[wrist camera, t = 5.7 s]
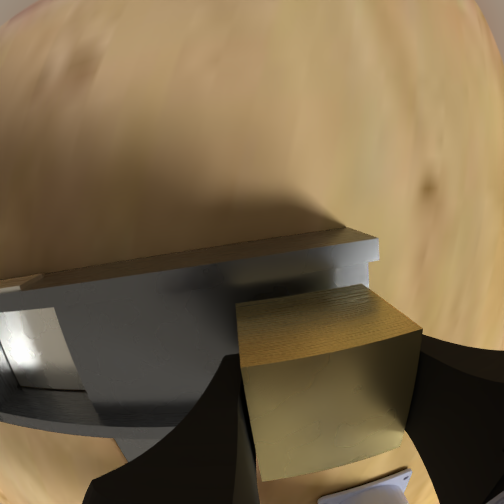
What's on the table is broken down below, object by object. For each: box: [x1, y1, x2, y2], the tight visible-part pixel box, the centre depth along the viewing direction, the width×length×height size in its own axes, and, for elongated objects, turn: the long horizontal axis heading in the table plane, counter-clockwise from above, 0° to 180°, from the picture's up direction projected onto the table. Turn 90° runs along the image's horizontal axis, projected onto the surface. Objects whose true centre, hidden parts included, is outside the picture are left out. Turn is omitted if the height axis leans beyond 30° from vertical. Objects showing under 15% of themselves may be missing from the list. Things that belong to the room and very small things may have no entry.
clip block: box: [235, 283, 423, 482], centre depth 9 cm, size 4×4×4 cm
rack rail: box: [0, 227, 379, 439], centre depth 12 cm, size 8×21×3 cm, turn 98°
